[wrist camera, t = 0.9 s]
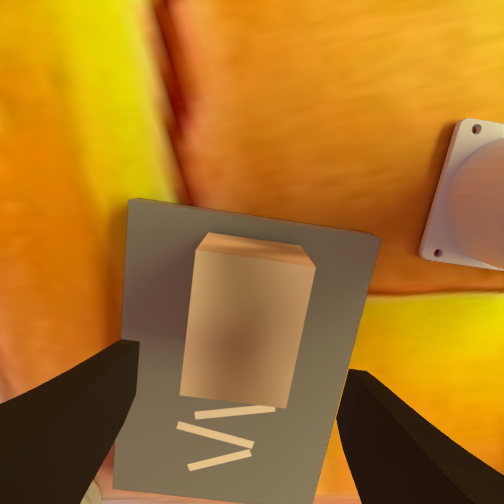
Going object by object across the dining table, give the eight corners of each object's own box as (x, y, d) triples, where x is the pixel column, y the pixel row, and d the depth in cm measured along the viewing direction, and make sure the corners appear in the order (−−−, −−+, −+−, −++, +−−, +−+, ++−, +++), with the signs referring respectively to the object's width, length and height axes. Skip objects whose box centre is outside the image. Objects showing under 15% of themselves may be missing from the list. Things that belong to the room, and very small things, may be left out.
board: (371, 233, 18) (381, 238, 17) (306, 489, 23) (310, 510, 22) (138, 197, 18) (128, 199, 16) (121, 468, 23) (112, 488, 21)
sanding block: (298, 243, 17) (315, 267, 13) (277, 354, 19) (286, 408, 14) (209, 230, 17) (195, 249, 12) (195, 343, 18) (179, 395, 14)
